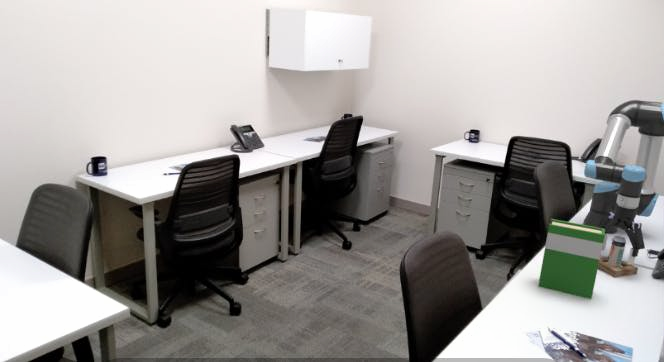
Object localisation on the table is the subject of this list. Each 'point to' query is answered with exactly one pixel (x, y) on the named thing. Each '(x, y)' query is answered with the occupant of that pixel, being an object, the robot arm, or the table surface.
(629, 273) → the picture frame
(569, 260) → the hardback book
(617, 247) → the beer can
